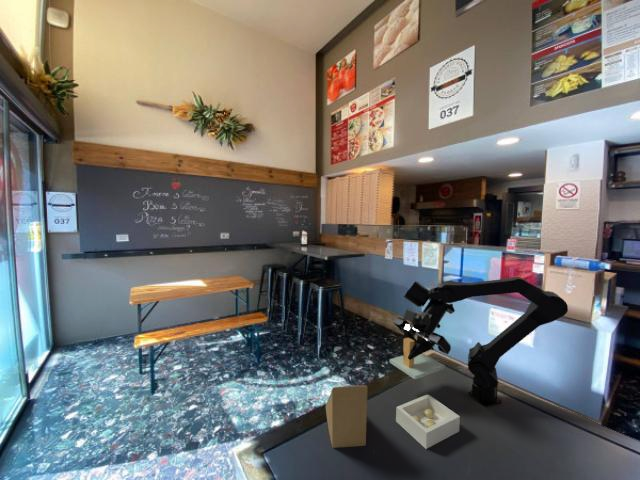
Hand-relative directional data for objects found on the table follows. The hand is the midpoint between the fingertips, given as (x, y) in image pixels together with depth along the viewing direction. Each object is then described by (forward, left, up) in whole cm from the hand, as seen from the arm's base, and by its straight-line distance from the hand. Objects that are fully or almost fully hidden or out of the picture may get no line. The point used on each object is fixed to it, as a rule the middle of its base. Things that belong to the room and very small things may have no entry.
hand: (405, 356), depth 83 cm
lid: (-5, -1, -5) cm, 7 cm away
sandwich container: (+22, +5, -13) cm, 26 cm away
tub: (+2, +13, -12) cm, 18 cm away
